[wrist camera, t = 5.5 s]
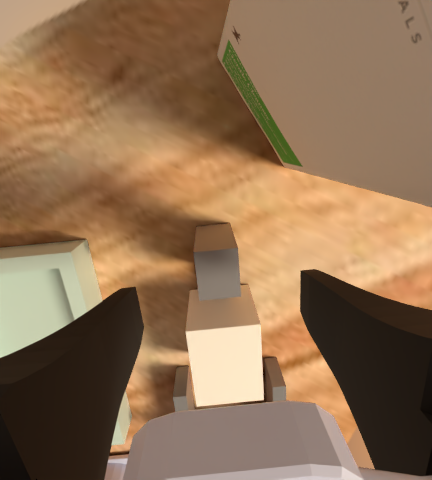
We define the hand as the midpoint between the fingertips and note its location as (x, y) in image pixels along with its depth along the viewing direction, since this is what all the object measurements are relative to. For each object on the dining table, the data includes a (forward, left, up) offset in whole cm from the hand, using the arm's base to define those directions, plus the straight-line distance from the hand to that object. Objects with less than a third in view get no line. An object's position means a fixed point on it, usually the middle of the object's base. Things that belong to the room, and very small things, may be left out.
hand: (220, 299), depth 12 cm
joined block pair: (-4, 0, -8) cm, 10 cm away
